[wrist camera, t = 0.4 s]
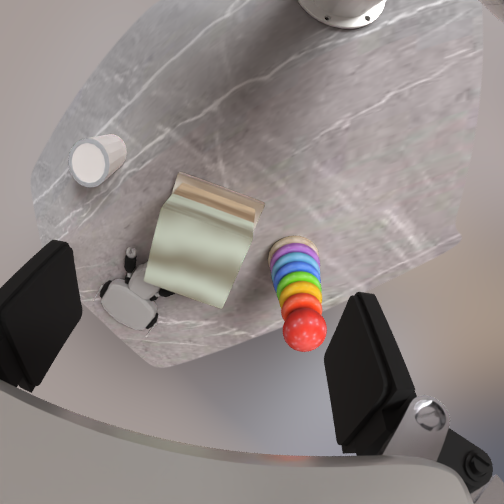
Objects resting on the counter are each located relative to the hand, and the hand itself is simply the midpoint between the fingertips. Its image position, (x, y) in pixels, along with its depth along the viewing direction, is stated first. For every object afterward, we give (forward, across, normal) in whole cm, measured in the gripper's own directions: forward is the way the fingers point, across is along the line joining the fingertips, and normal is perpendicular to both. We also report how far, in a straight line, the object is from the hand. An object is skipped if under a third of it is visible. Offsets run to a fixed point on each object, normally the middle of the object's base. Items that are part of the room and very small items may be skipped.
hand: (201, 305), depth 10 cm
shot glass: (+35, +20, +4) cm, 41 cm away
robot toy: (+36, +15, +27) cm, 47 cm away
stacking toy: (+35, -10, +16) cm, 40 cm away
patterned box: (+35, +4, +13) cm, 38 cm away
